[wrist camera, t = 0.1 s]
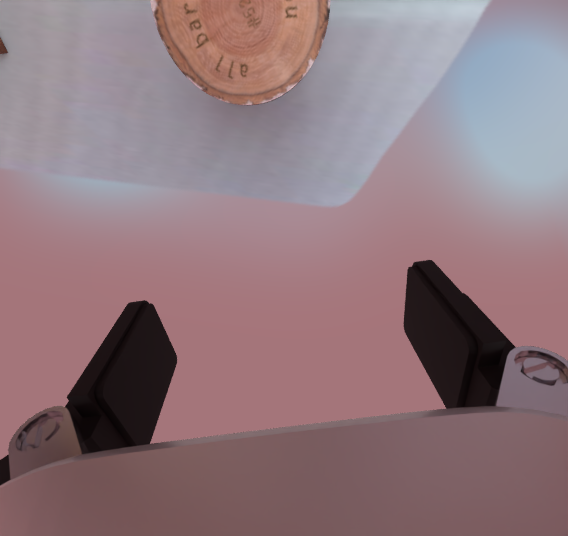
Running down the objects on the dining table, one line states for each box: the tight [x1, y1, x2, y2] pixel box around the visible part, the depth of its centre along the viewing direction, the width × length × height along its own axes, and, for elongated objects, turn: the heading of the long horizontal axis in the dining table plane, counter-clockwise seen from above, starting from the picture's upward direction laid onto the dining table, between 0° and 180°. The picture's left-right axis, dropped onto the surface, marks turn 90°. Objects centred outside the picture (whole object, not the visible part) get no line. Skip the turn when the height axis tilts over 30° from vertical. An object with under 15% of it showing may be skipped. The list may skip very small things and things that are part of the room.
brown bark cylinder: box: [150, 0, 330, 105], centre depth 22 cm, size 7×7×25 cm
